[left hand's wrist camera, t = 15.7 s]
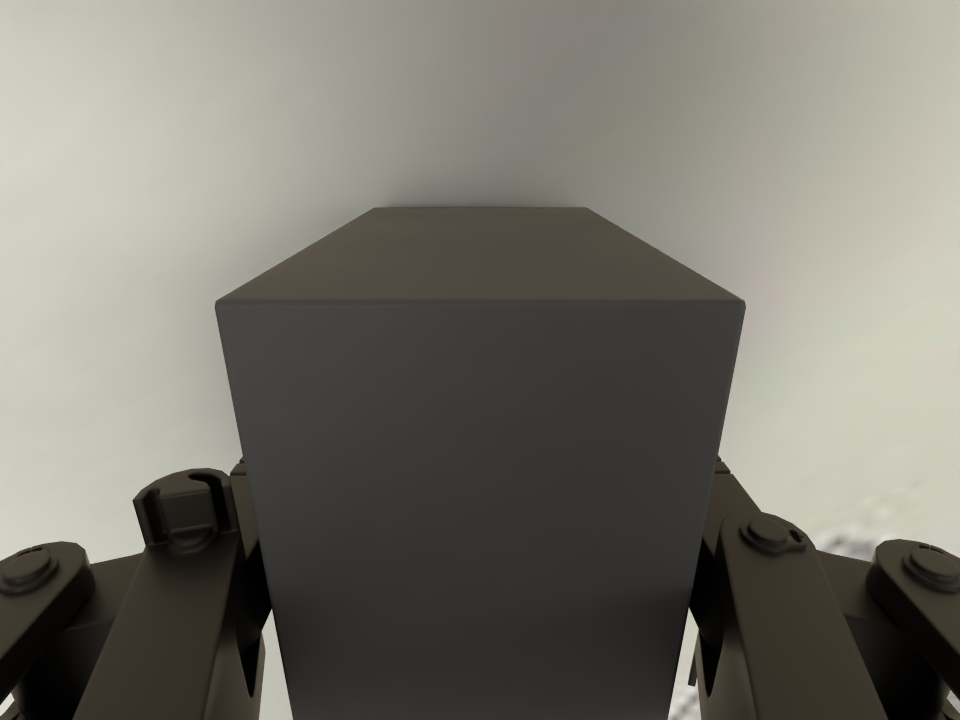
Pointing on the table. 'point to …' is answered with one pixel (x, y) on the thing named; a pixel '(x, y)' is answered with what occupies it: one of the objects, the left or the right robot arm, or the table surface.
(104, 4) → the table surface
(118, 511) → the table surface
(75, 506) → the table surface
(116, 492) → the table surface
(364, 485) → the post
